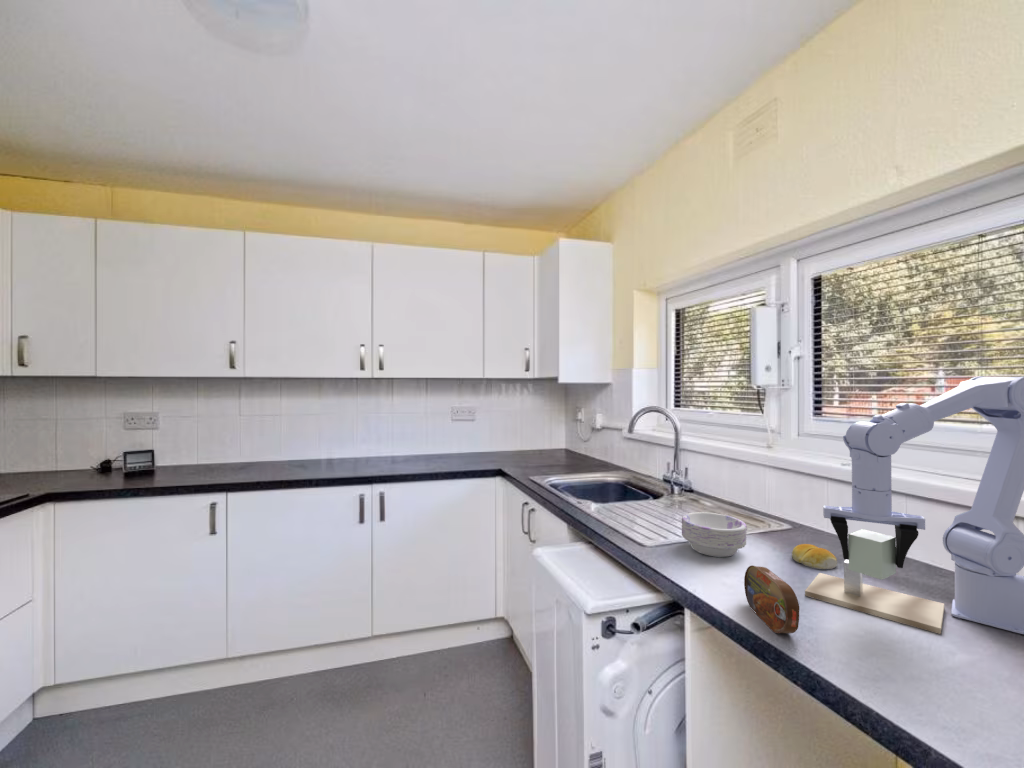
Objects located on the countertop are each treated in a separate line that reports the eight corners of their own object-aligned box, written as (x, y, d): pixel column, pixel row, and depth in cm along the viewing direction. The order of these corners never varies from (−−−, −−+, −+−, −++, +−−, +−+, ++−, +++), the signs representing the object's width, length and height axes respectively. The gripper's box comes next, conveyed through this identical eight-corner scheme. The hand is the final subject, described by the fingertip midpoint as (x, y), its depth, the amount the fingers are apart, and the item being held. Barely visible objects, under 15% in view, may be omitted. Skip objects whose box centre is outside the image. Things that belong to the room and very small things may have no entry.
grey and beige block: (862, 591, 91) (862, 562, 91) (860, 596, 90) (860, 565, 90) (846, 587, 93) (846, 558, 93) (844, 592, 91) (844, 562, 91)
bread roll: (810, 554, 114) (810, 538, 114) (843, 568, 106) (843, 551, 106) (782, 557, 113) (782, 541, 112) (814, 572, 104) (814, 554, 104)
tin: (742, 600, 91) (742, 558, 91) (758, 600, 91) (758, 558, 91) (784, 644, 76) (783, 593, 76) (803, 644, 76) (803, 593, 75)
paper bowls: (760, 555, 114) (760, 523, 113) (717, 566, 107) (717, 533, 107) (709, 536, 127) (709, 508, 127) (669, 546, 121) (668, 516, 120)
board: (944, 609, 86) (944, 603, 86) (940, 634, 78) (940, 628, 78) (819, 577, 101) (819, 572, 101) (804, 595, 92) (804, 590, 92)
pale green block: (895, 573, 83) (895, 537, 83) (882, 580, 80) (881, 542, 80) (862, 563, 87) (862, 529, 87) (848, 569, 85) (848, 534, 85)
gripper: (917, 487, 83) (918, 561, 83) (821, 479, 91) (822, 547, 91) (928, 496, 77) (928, 576, 77) (824, 486, 85) (825, 560, 85)
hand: (871, 561), depth 84 cm, fingers closed on pale green block, 7 cm apart
